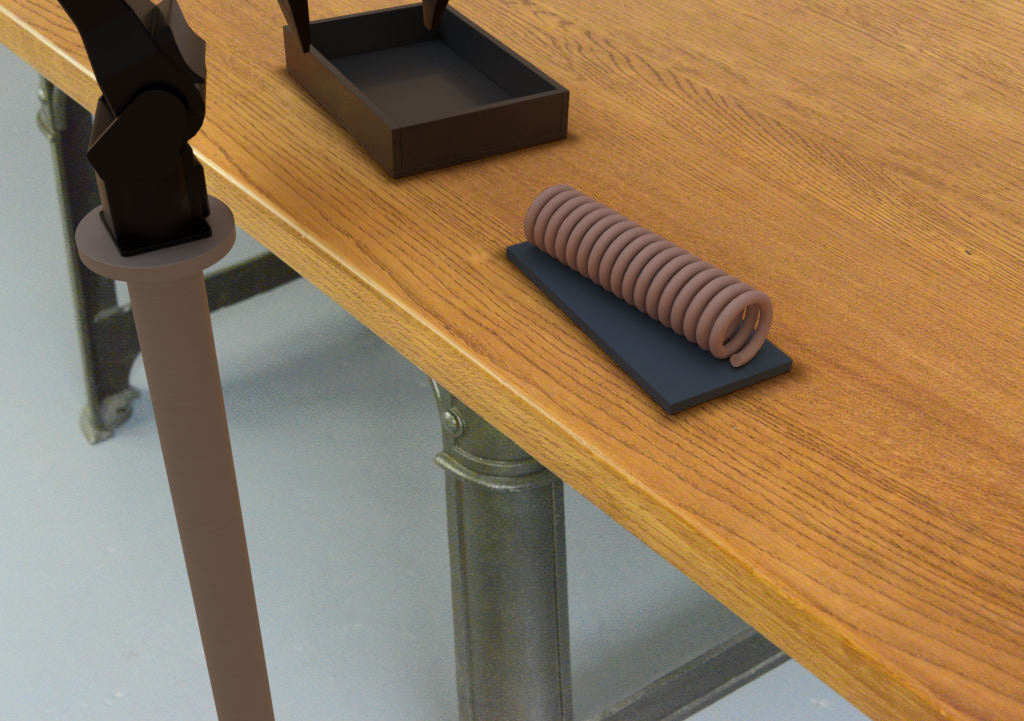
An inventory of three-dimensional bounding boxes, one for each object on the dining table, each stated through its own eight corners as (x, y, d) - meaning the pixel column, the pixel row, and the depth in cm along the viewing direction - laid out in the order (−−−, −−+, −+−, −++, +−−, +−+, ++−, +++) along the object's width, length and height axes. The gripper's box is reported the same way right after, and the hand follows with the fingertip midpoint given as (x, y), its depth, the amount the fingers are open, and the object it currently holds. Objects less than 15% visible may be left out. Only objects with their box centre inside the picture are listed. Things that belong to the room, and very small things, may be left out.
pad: (669, 415, 66) (671, 404, 65) (505, 256, 78) (506, 246, 78) (791, 370, 69) (793, 359, 69) (615, 225, 82) (616, 216, 82)
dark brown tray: (393, 179, 87) (391, 129, 84) (286, 70, 102) (282, 25, 99) (567, 138, 93) (570, 90, 90) (441, 41, 108) (441, -2, 106)
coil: (517, 196, 75) (731, 321, 64) (569, 168, 77) (784, 284, 66) (520, 254, 78) (725, 382, 67) (570, 226, 80) (776, 346, 69)
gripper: (435, -251, 77) (438, -19, 87) (159, -230, 69) (195, 21, 79) (518, -218, 69) (511, 32, 79) (218, -192, 62) (250, 82, 71)
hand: (368, 39), depth 77 cm, fingers open, 9 cm apart
